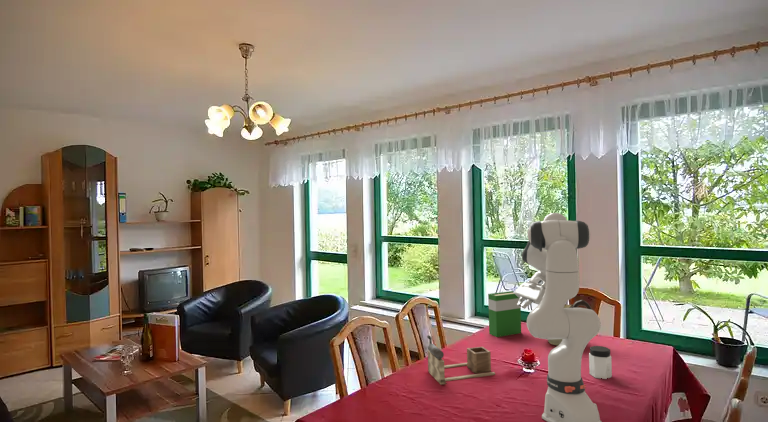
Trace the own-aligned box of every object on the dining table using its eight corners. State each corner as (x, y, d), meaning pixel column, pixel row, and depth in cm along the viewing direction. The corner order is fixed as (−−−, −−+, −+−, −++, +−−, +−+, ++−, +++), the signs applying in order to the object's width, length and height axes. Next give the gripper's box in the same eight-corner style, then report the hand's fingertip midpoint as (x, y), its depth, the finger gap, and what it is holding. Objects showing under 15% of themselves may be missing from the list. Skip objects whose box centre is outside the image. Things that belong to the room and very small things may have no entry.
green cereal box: (513, 330, 273) (512, 291, 273) (521, 333, 266) (520, 293, 266) (489, 333, 266) (488, 293, 266) (496, 337, 260) (495, 296, 259)
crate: (491, 371, 203) (490, 351, 203) (474, 373, 201) (474, 353, 201) (483, 365, 211) (482, 346, 211) (467, 367, 209) (466, 348, 209)
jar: (603, 380, 192) (603, 353, 192) (586, 375, 199) (585, 348, 199) (615, 375, 197) (614, 348, 197) (597, 370, 204) (597, 344, 204)
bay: (495, 377, 199) (494, 340, 199) (438, 384, 193) (437, 346, 193) (478, 364, 216) (477, 330, 216) (425, 370, 209) (424, 335, 209)
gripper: (522, 276, 219) (504, 298, 217) (547, 283, 199) (528, 306, 197) (530, 285, 220) (513, 306, 218) (556, 292, 200) (537, 316, 198)
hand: (520, 306), depth 207 cm, fingers open, 2 cm apart
